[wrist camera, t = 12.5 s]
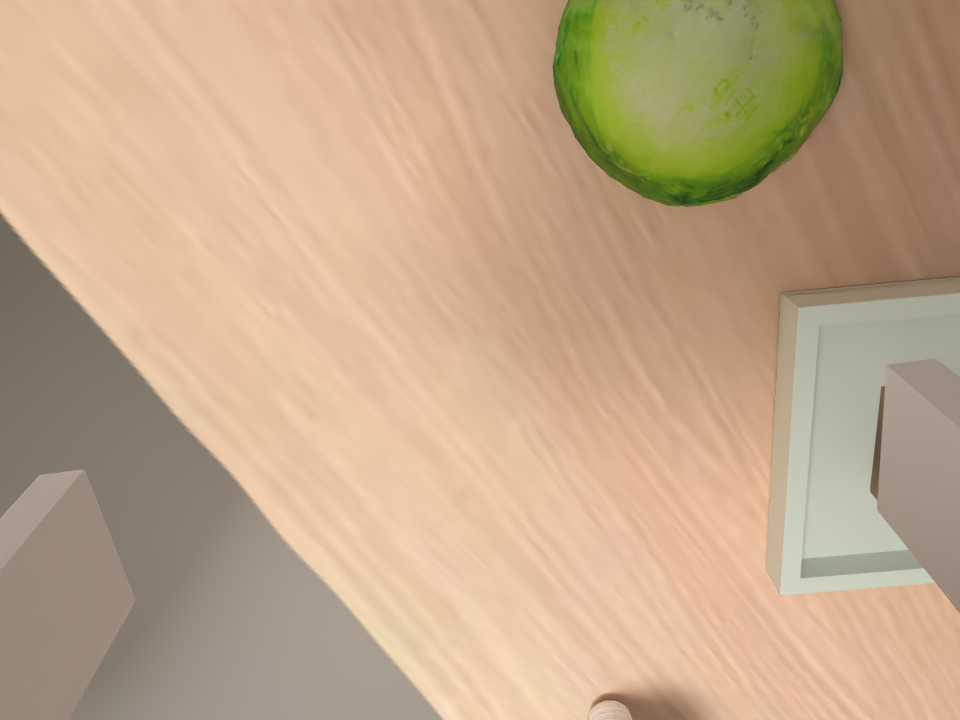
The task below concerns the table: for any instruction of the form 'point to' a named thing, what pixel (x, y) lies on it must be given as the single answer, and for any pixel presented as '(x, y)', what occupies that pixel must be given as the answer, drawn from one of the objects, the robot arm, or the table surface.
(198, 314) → the table surface
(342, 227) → the table surface
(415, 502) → the table surface
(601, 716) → the lightbulb
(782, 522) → the tray
